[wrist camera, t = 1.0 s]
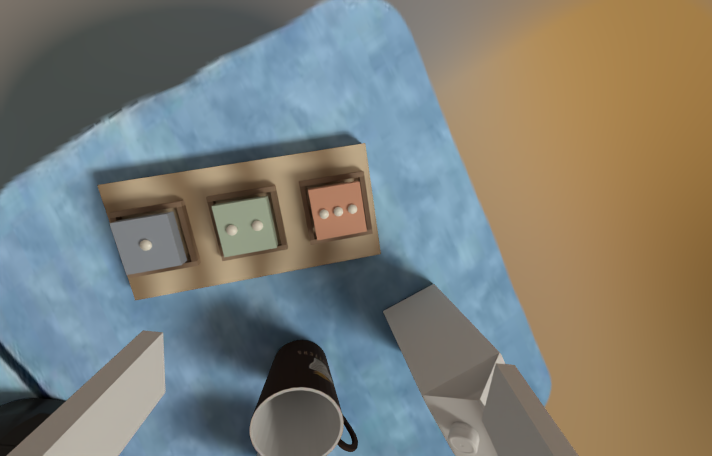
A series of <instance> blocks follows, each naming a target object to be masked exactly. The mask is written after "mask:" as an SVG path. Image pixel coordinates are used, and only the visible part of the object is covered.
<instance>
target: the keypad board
mask: <svg viewBox="0 0 712 456" xmlns="http://www.w3.org/2000/svg"><path fill="white" fill-rule="evenodd" d="M352 181H359V182H360V188H361V195H362V201H363V208H364V215H365V221H366V228H367V232H361V233H356V234H350V235H345V236H339V237H334V238H328V239H323V240H317V236H316V230H315V225H314V219H313V214H312V209H311V203H310V198H309V192H308V189H310V188H316V187H322V186H328V185H334V184H340V183H346V182H352ZM97 186H98V189H99V192H100V195H101V198H102V201H103V204H104V207H105V210H106V213H107V216H108V219H109V222H110V223H112V222H115V221H118V220H124V219H130V218H136V217H142V216H148V215H154V214H160V213H166V212H172V211H173V212H174V216H175V219H176V223H177V226H178V230H179V233H180V237H181V241H182V244H183V248H184V251H185V255H186V258H187V261H186V262H185V263H183V264H182V265H180V266H174V267H169V268H163V269H158V270H152V271H147V272H141V273H136V274H130V275H127V276H128V279H129V282H130V286H131V289H132V292H133V295H134V298H135V300H140V299H145V298H151V297H156V296H161V295H166V294H172V293H177V292H182V291H188V290H193V289H198V288H203V287H209V286H214V285H219V284H225V283H230V282H235V281H240V280H246V279H251V278H256V277H262V276H267V275H272V274H278V273H283V272H288V271H293V270H299V269H304V268H309V267H315V266H320V265H325V264H330V263H336V262H341V261H346V260H352V259H357V258H362V257H368V256H373V255H378V254H381V252H380V245H379V238H378V231H377V224H376V216H375V209H374V202H373V195H372V188H371V181H370V174H369V167H368V160H367V153H366V146H365V143H363V144H357V145H350V146H344V147H337V148H331V149H325V150H318V151H312V152H306V153H299V154H293V155H286V156H280V157H274V158H267V159H261V160H254V161H248V162H242V163H235V164H229V165H222V166H216V167H210V168H203V169H197V170H190V171H184V172H178V173H171V174H165V175H158V176H152V177H146V178H139V179H133V180H126V181H120V182H114V183H107V184H101V185H97ZM262 196H268V199H269V204H270V209H271V213H272V218H273V223H274V227H275V232H276V237H277V241H278V246H277V248H273V249H268V250H262V251H257V252H251V253H246V254H240V255H235V256H229V257H224V253H223V250H222V246H221V242H220V238H219V234H218V230H217V226H216V222H215V218H214V214H213V210H212V207H211V206H213V205H215V204H220V203H226V202H232V201H238V200H244V199H250V198H256V197H262Z"/></svg>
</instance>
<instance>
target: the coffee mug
mask: <svg viewBox="0 0 712 456" xmlns="http://www.w3.org/2000/svg"><path fill="white" fill-rule="evenodd" d="M343 424H344V425H345V427H346V429H347V430H348V432H349V434H350V436H351V438H352V444H351V445H349V444H346V443H345V442H344V441H342V440H341V439H340V438H341V436H342V432H343ZM250 438H251V441H252V444H253V446H254V448H255V449H256V451H257V452H258V453H259V454H260V455H261V456H327V455H328V454H329V453H330V452H331V451H332V450H333V449H334V448H335V446H336V445H337V444H338V445H339V447H340V448H342V449H343V450H345V451H348V452H353V451H355V450H356V449H357V446H358V440H357V437H356V434H355V432H354V431H353V429H352V427H351V426H350V424H349V423H348V421H347V420H346V418H345V417H344V416H343V414H342V412H341V408H340V405H339V401H338V398H337V394H336V391H335V387H334V384H333V380H332V377H331V373H330V370H329V366H328V363H327V359H326V356H325V353H324V351H323V350H322V349H321V348H320V347H319V346H318V345H317V344H315V343H313V342H311V341H307V340H296V341H292V342H289V343H287V344H286V345H284V346H283V347H282V348H281V349H279V351H278V352H277V354H276V356H275V358H274V361H273V363H272V366H271V369H270V371H269V374H268V377H267V379H266V382H265V385H264V387H263V390H262V392H261V395H260V398H259V400H258V403H257V406H256V408H255V411H254V414H253V416H252V419H251V423H250Z"/></svg>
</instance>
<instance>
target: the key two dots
mask: <svg viewBox="0 0 712 456" xmlns="http://www.w3.org/2000/svg"><path fill="white" fill-rule="evenodd" d="M211 207H212V210H213V214H214V218H215V222H216V226H217V230H218V234H219V238H220V242H221V246H222V250H223V253H224V257H229V256H235V255H240V254H246V253H251V252H257V251H262V250H268V249H273V248H277V246H278V241H277V237H276V232H275V227H274V223H273V218H272V213H271V209H270V204H269V199H268V196H262V197H256V198H250V199H244V200H238V201H232V202H226V203H220V204H215V205H213V206H211Z"/></svg>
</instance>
